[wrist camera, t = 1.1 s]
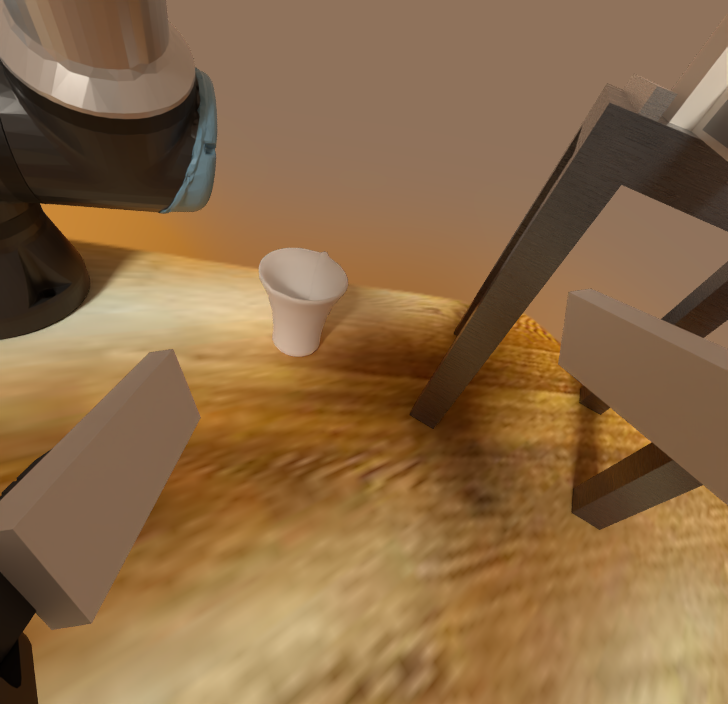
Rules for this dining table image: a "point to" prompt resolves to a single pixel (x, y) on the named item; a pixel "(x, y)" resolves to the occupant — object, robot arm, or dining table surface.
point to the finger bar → (705, 93)
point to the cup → (300, 296)
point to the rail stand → (557, 238)
